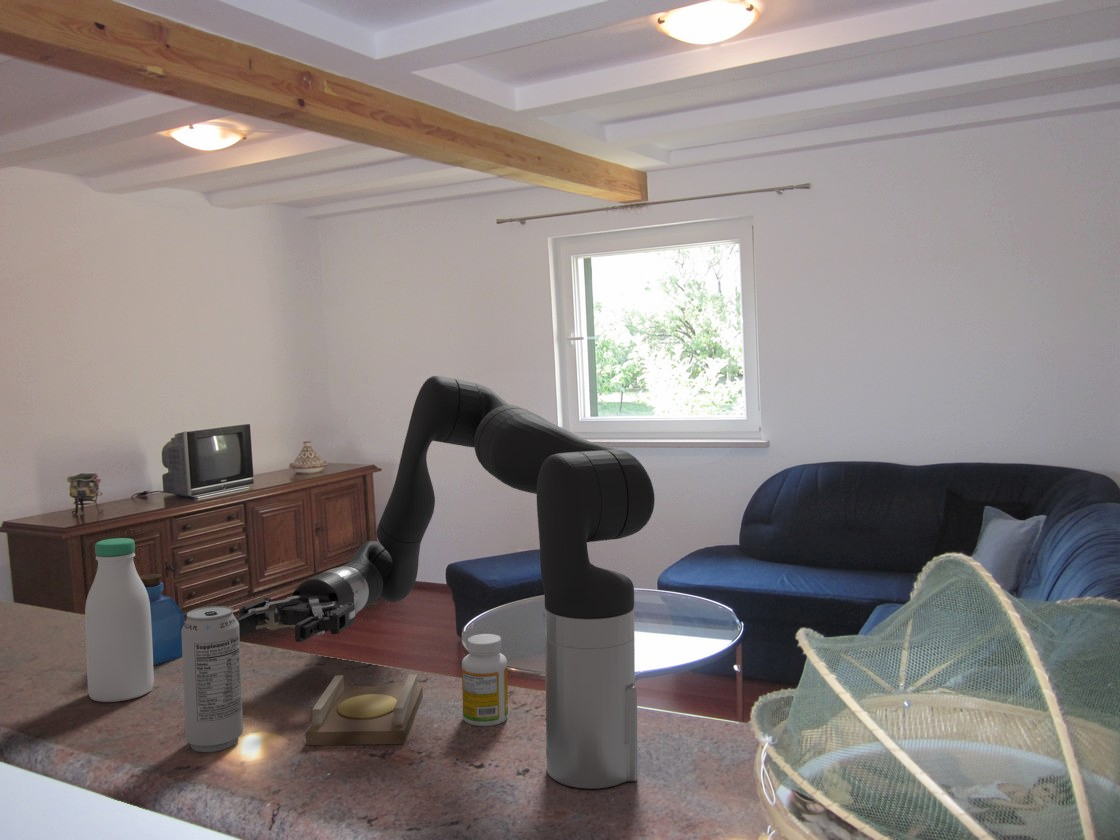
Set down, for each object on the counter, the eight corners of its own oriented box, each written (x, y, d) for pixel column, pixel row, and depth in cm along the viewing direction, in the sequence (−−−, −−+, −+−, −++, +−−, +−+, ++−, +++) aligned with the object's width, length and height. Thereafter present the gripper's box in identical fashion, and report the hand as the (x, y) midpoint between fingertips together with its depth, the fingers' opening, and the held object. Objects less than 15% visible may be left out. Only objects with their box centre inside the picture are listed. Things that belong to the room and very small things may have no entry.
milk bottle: (164, 691, 119) (158, 539, 118) (102, 709, 113) (94, 549, 112) (139, 678, 124) (133, 532, 123) (79, 693, 119) (71, 541, 117)
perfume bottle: (185, 655, 134) (182, 574, 133) (146, 667, 128) (142, 583, 128) (159, 648, 137) (156, 569, 136) (120, 660, 132) (117, 578, 131)
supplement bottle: (485, 706, 113) (483, 628, 112) (517, 716, 109) (516, 637, 109) (453, 720, 109) (451, 639, 108) (486, 731, 105) (484, 648, 105)
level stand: (422, 697, 116) (422, 670, 116) (404, 743, 102) (404, 713, 102) (335, 698, 116) (335, 671, 116) (306, 745, 102) (305, 714, 102)
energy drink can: (235, 727, 107) (231, 601, 106) (249, 745, 102) (244, 613, 101) (181, 740, 104) (175, 610, 103) (192, 759, 99) (187, 622, 98)
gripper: (285, 569, 130) (215, 598, 114) (377, 574, 126) (317, 605, 111) (287, 621, 130) (217, 657, 115) (378, 627, 127) (319, 665, 111)
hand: (266, 631), depth 113 cm, fingers open, 8 cm apart
